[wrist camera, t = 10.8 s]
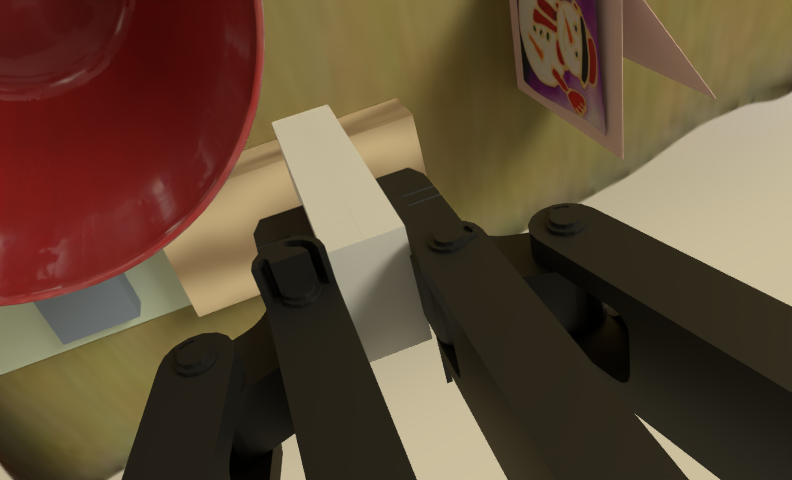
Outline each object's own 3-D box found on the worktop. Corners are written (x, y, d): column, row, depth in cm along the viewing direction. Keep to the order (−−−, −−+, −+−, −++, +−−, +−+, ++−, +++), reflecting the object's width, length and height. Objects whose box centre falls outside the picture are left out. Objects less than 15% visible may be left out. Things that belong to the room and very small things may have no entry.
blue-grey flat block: (89, 232, 47) (92, 219, 49) (5, 263, 46) (10, 248, 48) (140, 316, 52) (141, 301, 53) (63, 345, 51) (66, 329, 53)
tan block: (143, 185, 49) (141, 209, 46) (396, 97, 51) (412, 115, 48) (196, 288, 55) (198, 317, 51) (423, 205, 57) (439, 227, 54)
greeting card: (492, -59, 48) (607, -26, 35) (585, -85, 49) (728, -62, 36) (508, 90, 54) (610, 163, 42) (590, 65, 55) (714, 128, 43)
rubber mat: (-93, 266, 47) (-94, 269, 47) (143, 185, 49) (143, 187, 49) (-5, 374, 53) (-6, 377, 53) (201, 297, 55) (201, 300, 55)
